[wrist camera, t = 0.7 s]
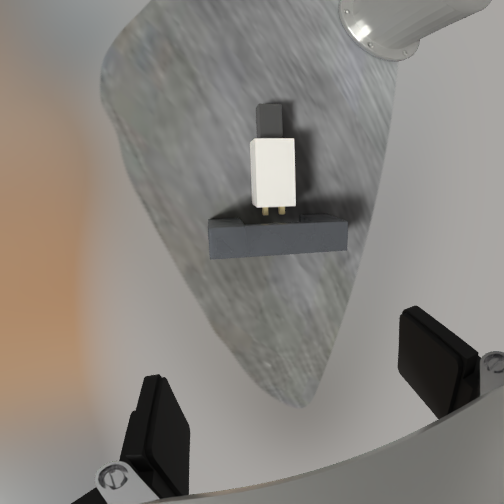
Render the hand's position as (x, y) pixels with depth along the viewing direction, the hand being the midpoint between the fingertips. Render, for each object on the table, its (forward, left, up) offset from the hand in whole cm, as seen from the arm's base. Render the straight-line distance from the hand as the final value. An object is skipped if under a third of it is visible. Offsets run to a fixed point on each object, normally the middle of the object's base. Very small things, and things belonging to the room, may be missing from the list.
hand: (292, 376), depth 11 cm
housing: (-3, +3, -26) cm, 26 cm away
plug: (-10, -1, -26) cm, 28 cm away
